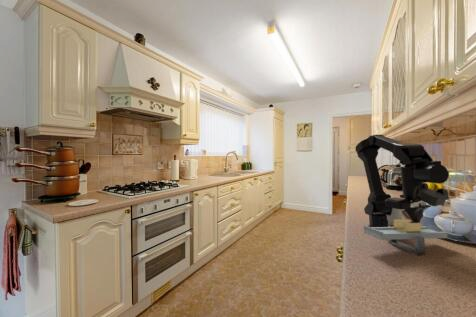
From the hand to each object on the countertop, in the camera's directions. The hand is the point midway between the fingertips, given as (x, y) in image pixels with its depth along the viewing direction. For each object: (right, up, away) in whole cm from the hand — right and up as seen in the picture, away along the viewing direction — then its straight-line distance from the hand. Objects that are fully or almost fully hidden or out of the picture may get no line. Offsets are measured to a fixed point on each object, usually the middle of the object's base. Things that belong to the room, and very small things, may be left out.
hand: (416, 225), depth 71 cm
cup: (+12, -8, +26) cm, 30 cm away
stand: (-5, -8, -1) cm, 9 cm away
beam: (-5, -3, -1) cm, 6 cm away
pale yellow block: (-4, -2, -1) cm, 4 cm away
